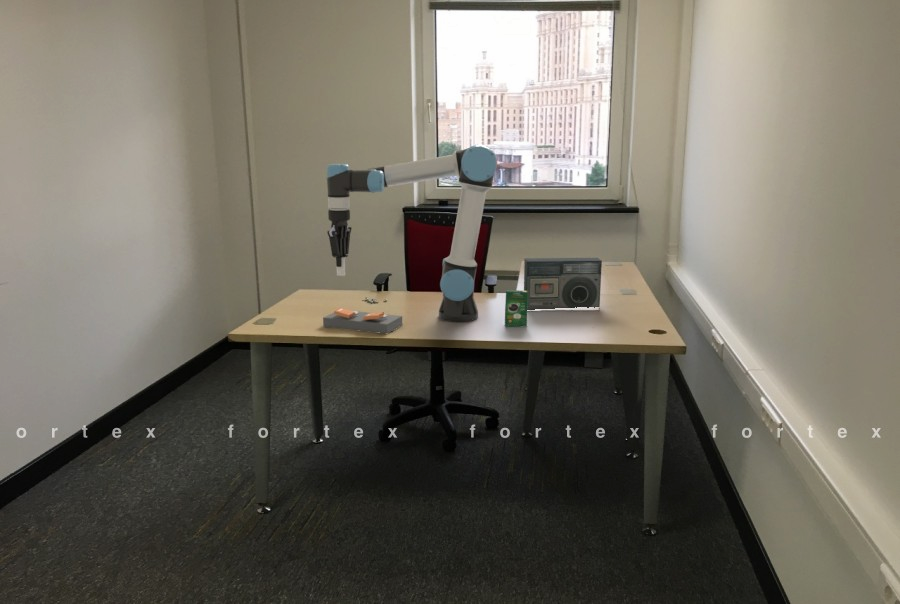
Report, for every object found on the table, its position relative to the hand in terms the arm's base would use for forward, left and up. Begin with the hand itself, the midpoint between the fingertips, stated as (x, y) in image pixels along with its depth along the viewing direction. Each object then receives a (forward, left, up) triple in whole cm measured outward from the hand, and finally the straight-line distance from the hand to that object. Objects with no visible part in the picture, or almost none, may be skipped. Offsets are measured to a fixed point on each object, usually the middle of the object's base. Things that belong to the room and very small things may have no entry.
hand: (341, 275), depth 240 cm
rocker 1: (-1, 0, -14) cm, 14 cm away
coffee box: (-59, -23, -19) cm, 66 cm away
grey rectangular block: (-7, -3, -19) cm, 20 cm away
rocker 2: (-13, 0, -14) cm, 19 cm away
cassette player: (-68, -53, -19) cm, 89 cm away
